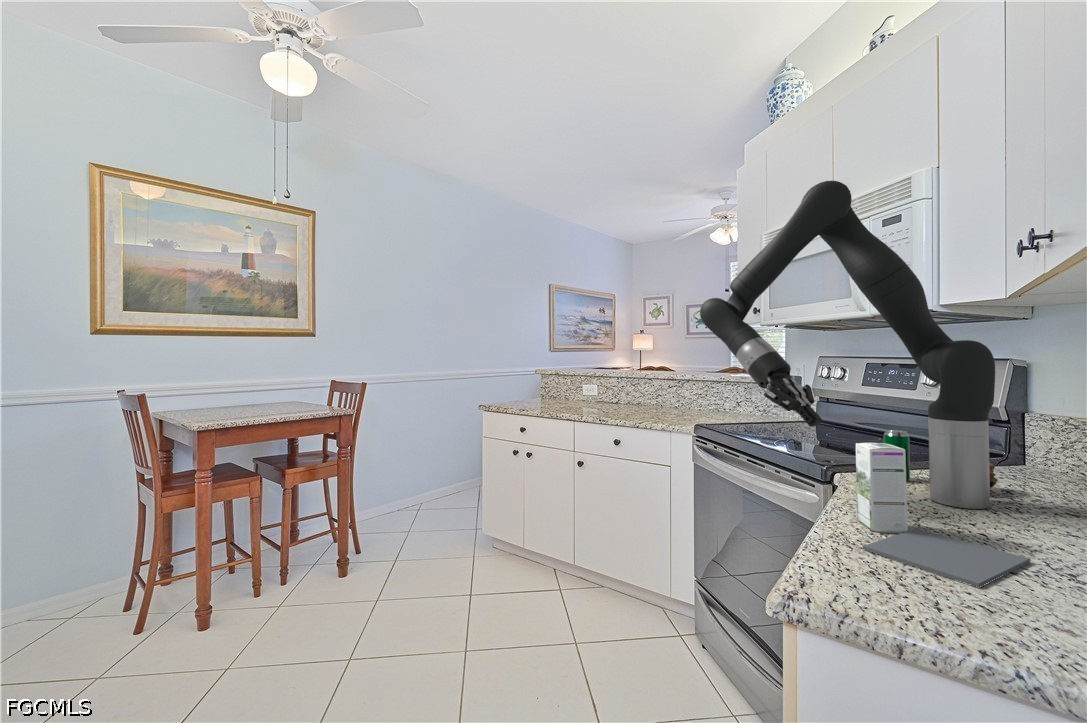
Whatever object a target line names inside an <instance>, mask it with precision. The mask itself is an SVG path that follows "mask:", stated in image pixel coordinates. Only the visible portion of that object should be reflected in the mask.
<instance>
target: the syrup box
mask: <svg viewBox="0 0 1087 723" xmlns="http://www.w3.org/2000/svg"><path fill="white" fill-rule="evenodd" d="M855 473H856V477H855V479H856V507H857V508H856V510H857V522H859V523H860V524H862V525H863V526H864V527H866V528H868V529H869V530H871V531H872V532H875V533H876V532H878V533H886V534H887V533H893V534H901V533H904V532H907V531H909V530H908V529H909V526H908V525H909V524H908V523H909V521H908V490H907V486H908V485H907V482H906V457H905V449H903V448H899V447H896V446H893V445H890V444H886V443H884V442H856V443H855Z"/></svg>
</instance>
